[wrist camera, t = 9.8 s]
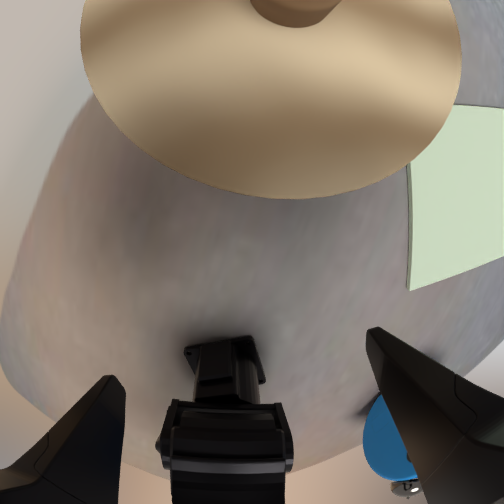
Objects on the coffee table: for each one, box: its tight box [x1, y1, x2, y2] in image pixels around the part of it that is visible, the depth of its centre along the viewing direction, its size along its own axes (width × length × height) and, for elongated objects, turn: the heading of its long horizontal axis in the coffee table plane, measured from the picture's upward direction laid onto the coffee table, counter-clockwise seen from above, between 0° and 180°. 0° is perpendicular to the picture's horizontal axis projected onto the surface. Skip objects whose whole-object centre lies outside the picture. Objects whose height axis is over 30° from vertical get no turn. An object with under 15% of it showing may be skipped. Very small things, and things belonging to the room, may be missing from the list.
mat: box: [407, 105, 504, 291], centre depth 20 cm, size 16×16×1 cm
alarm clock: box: [363, 395, 423, 499], centre depth 24 cm, size 13×6×15 cm, turn 151°
